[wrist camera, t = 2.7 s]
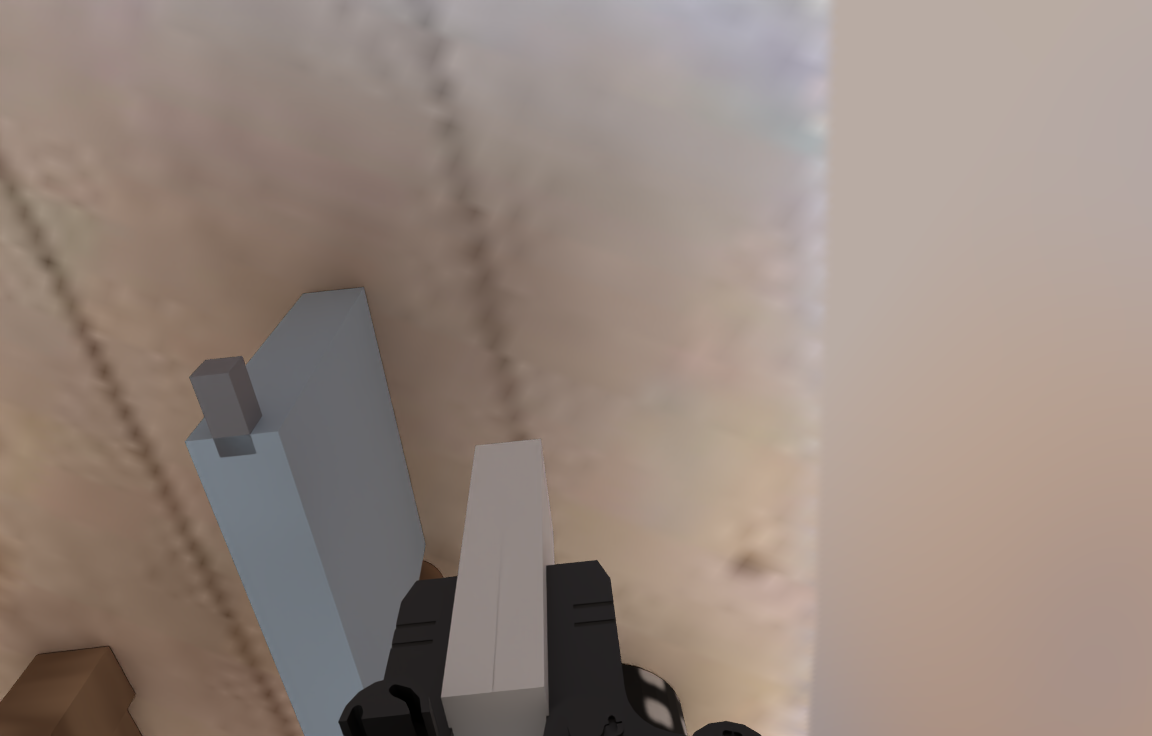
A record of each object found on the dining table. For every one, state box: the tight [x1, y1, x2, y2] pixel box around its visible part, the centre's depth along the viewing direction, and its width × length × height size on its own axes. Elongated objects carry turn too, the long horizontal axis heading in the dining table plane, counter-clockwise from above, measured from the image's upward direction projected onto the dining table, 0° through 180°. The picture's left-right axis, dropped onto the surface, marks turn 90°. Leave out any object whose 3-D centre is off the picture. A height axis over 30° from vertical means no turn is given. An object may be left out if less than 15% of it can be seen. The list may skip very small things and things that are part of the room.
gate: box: [185, 287, 426, 736], centre depth 21 cm, size 12×2×9 cm, turn 5°
